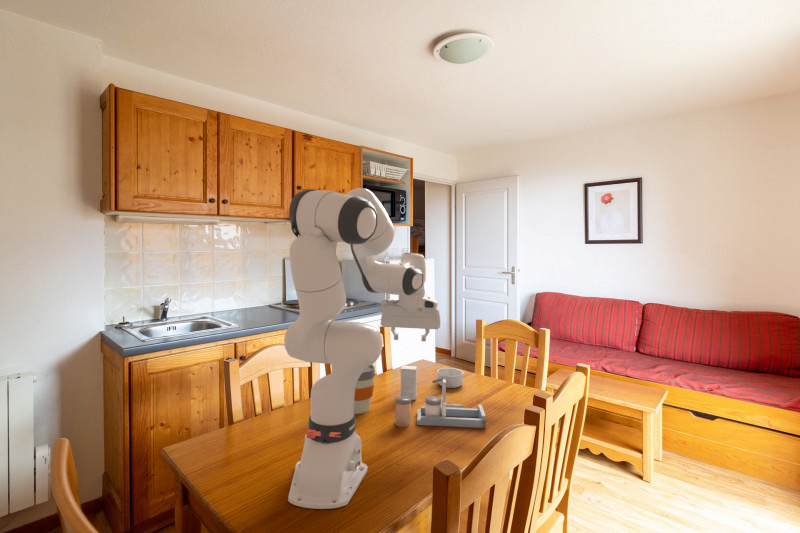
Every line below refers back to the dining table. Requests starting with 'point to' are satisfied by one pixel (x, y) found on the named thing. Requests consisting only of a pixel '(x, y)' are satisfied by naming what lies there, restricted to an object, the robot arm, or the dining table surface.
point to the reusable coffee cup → (364, 390)
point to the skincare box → (409, 381)
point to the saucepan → (450, 377)
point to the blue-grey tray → (454, 418)
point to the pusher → (444, 405)
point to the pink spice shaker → (402, 411)
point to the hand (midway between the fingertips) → (409, 340)
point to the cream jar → (432, 406)
